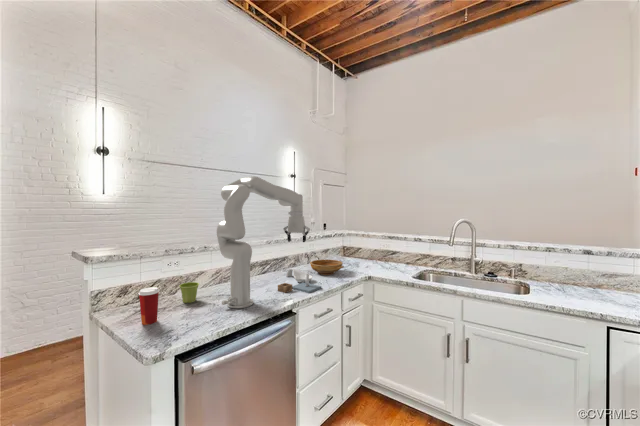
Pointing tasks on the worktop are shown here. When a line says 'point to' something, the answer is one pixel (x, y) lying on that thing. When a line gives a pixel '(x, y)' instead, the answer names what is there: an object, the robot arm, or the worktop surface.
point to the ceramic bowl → (326, 266)
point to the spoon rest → (298, 275)
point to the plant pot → (189, 291)
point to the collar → (285, 287)
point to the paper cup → (149, 305)
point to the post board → (306, 286)
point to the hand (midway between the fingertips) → (296, 241)
